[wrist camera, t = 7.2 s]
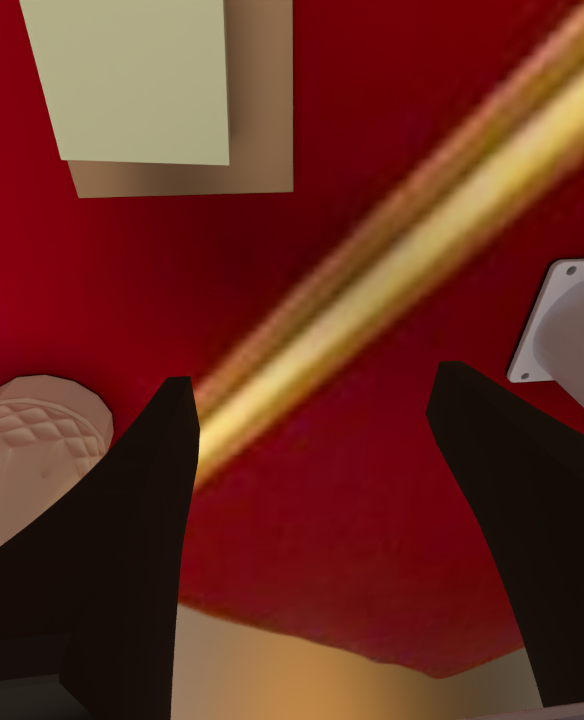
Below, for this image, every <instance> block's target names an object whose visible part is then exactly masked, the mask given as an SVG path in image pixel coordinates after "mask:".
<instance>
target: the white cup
mask: <svg viewBox="0 0 584 720" xmlns="http://www.w3.org/2000/svg"><path fill="white" fill-rule="evenodd" d="M113 433H114V429H113V420H112V413H111V412H110V410H109V409H108V408H107V407H106V405H105V404H104V403H103V401H102V400H101V399H100V397H99V396H98V395H96V394H95V393H93V392H91V391H90V390H88V389H86V388H85V387H83V386H81V385H80V384H78V383H76V382H74V381H70V380H66V379H62V378H57V377H53V376H49V375H36V376H26V377H17V378H15V379H13V380H11V381H10V382H8V383H6V384H5V385H3V386H1V387H0V546H1V545H3V544H4V543H5V542H7V541H8V540H9V539H11V538H12V537H13V536H14V535H16V534H17V533H18V532H20V531H21V530H22V529H24V528H25V527H26V526H28V525H29V524H30V523H31V522H33V521H34V520H35V519H36V518H37V517H38V516H40V515H41V514H42V513H43V512H44V511H46V510H47V509H48V508H49V507H50V506H52V505H53V504H54V503H55V502H56V501H58V500H59V499H60V498H61V497H62V496H63V495H65V494H66V493H67V492H68V491H69V490H70V489H71V488H72V487H73V486H74V485H76V484H77V483H78V482H79V481H80V480H81V479H82V478H83V477H84V476H85V475H86V474H87V473H88V472H89V471H90V470H91V469H92V468H93V467H94V466H95V465H96V464H97V463H98V462H99V461H100V460H101V459H102V458H103V457H104V455H105V454H106V453H107V452H108V449H109V446H110V443H111V440H112V436H113Z"/></svg>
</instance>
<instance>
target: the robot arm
mask: <svg viewBox="0 0 584 720" xmlns="http://www.w3.org/2000/svg"><path fill="white" fill-rule="evenodd" d="M570 267H571V269H570V270H569V271H568V272H567V270H568V268H570ZM524 373H525V374H524ZM507 378H508V379H509V380H510V381H511V382H530V381H546V380H555V381H556V382H557V383H558V384H559V385H560V386H562V387H563V388H564V389H565V390H566V391H567V392H568V393H569V394H570V395H571V396H572V397H573V398H574V399H575V400H576V401H577V402H578V403H579V404H580V405H582V406H583V407H584V259H565V260H558V261H556V262H555V263H553V264H552V265H551V267H550V269H549V271H548V274H547V276H546V279H545V281H544V283H543V286H542V288H541V291H540V293H539V296H538V298H537V301H536V303H535V306H534V308H533V311H532V313H531V316H530V318H529V321H528V323H527V326H526V328H525V331H524V333H523V336H522V338H521V341H520V343H519V346H518V348H517V350H516V353H515V355H514V358H513V360H512V363H511V365H510V368H509V370H508V373H507ZM426 416H427V419H428V422H429V425H430V428H431V430H432V433H433V436H434V438H435V441H436V443H437V445H438V447H439V449H440V451H441V453H442V455H443V457H444V459H445V460H446V462H447V464H448V466H449V468H450V470H451V472H452V474H453V475H454V477H455V479H456V481H457V483H458V485H459V486H460V488H461V490H462V492H463V494H464V496H465V497H466V499H467V501H468V503H469V505H470V507H471V509H472V510H473V513H474V515H475V517H476V519H477V521H478V523H479V525H480V527H481V530H482V532H483V534H484V537H485V539H486V542H487V544H488V546H489V549H490V551H491V554H492V556H493V559H494V561H495V564H496V566H497V569H498V572H499V574H500V577H501V579H502V582H503V585H504V587H505V590H506V592H507V595H508V598H509V601H510V604H511V607H512V609H513V612H514V615H515V618H516V621H517V624H518V627H519V630H520V632H521V635H522V638H523V642H524V645H525V648H526V651H527V654H528V658H529V661H530V664H531V667H532V670H533V673H534V677H535V680H536V683H537V687H538V690H539V693H540V697H541V701H542V704H543V707H544V708H539V709H532V710H524V711H517V712H509V713H503V714H495V715H488V716H480V717H473V718H466V719H459V720H584V435H583V434H581V433H580V432H578V431H576V430H574V429H572V428H570V427H568V426H566V425H565V424H563V423H561V422H559V421H558V420H556V419H554V418H552V417H551V416H549V415H547V414H545V413H544V412H542V411H540V410H539V409H537V408H535V407H534V406H532V405H530V404H529V403H527V402H525V401H524V400H522V399H521V398H519V397H517V396H516V395H514V394H513V393H511V392H510V391H508V390H506V389H505V388H503V387H502V386H500V385H499V384H497V383H496V382H494V381H492V380H491V379H489V378H488V377H486V376H485V375H483V374H481V373H480V372H478V371H477V370H475V369H474V368H472V367H470V366H469V365H467V364H465V363H463V362H461V361H444V362H439V366H438V370H437V373H436V377H435V381H434V384H433V388H432V392H431V396H430V399H429V403H428V407H427V410H426ZM199 438H200V426H199V421H198V416H197V410H196V405H195V399H194V394H193V389H192V383H191V378H190V376H183V377H168V378H167V379H166V380H165V381H164V382H163V384H162V385H161V386H160V388H159V389H158V391H157V392H156V393H155V395H154V396H153V397H152V399H151V400H150V401H149V403H148V404H147V405H146V407H145V408H144V409H143V411H142V412H141V413H140V414H139V416H138V417H137V418H136V419H135V421H134V422H133V423H132V424H131V426H130V427H129V428H128V429H127V431H126V432H125V433H124V434H123V435H122V436H121V438H120V439H119V440H118V441H117V442H116V443H115V444H114V445H113V446H112V448H111V449H110V450H109V451H108V452H107V453H106V454H105V455H104V457H103V458H102V459H101V460H100V461H99V462H98V463H97V464H96V465H95V466H94V467H93V468H92V469H91V470H90V471H89V472H88V473H87V474H86V475H85V476H84V477H83V478H82V479H81V480H80V481H79V482H78V483H77V484H76V485H74V486H73V487H72V488H71V489H70V490H69V491H68V492H67V493H66V494H65V495H63V496H62V497H61V498H60V499H59V500H58V501H56V502H55V503H54V504H53V505H52V506H50V507H49V508H48V509H47V510H46V511H44V512H43V513H42V514H41V515H40V516H38V517H37V518H36V519H35V520H34V521H33V522H31V523H30V524H29V525H28V526H26V527H25V528H24V529H22V530H21V531H20V532H18V533H17V534H16V535H14V536H13V537H12V538H11V539H9V540H8V541H7V542H5V543H4V544H3V545H1V546H0V720H170V718H171V697H172V677H173V661H174V645H175V629H176V615H177V603H178V590H179V579H180V567H181V556H182V548H183V541H184V534H185V529H186V524H187V518H188V513H189V508H190V502H191V497H192V492H193V486H194V481H195V475H196V470H197V464H198V454H199Z"/></svg>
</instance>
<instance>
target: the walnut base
mask: <svg viewBox="0 0 584 720" xmlns="http://www.w3.org/2000/svg"><path fill="white" fill-rule="evenodd" d="M19 2H20V0H19ZM225 2H226V30H227V58H228V86H229V114H230V163H229V165H202V164H173V163H144V162H114V161H85V160H67V161H68V164H69V167H70V171H71V174H72V177H73V180H74V184H75V187H76V190H77V194H78V197H79V198H94V197H129V196H163V195H198V194H233V193H267V192H293V48H292V0H225ZM20 5H21V4H20ZM22 12H23V11H22Z"/></svg>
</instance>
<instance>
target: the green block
mask: <svg viewBox="0 0 584 720" xmlns="http://www.w3.org/2000/svg"><path fill="white" fill-rule="evenodd" d="M20 4H21V8H22V11H23V15H24V19H25V23H26V27H27V31H28V34H29V38H30V42H31V46H32V50H33V53H34V57H35V61H36V65H37V69H38V73H39V76H40V80H41V84H42V88H43V92H44V96H45V99H46V103H47V107H48V111H49V115H50V118H51V122H52V126H53V130H54V134H55V138H56V141H57V145H58V149H59V153H60V157H61V160H85V161H114V162H144V163H173V164H202V165H229V163H230V114H229V86H228V58H227V30H226V2H225V0H20Z"/></svg>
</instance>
